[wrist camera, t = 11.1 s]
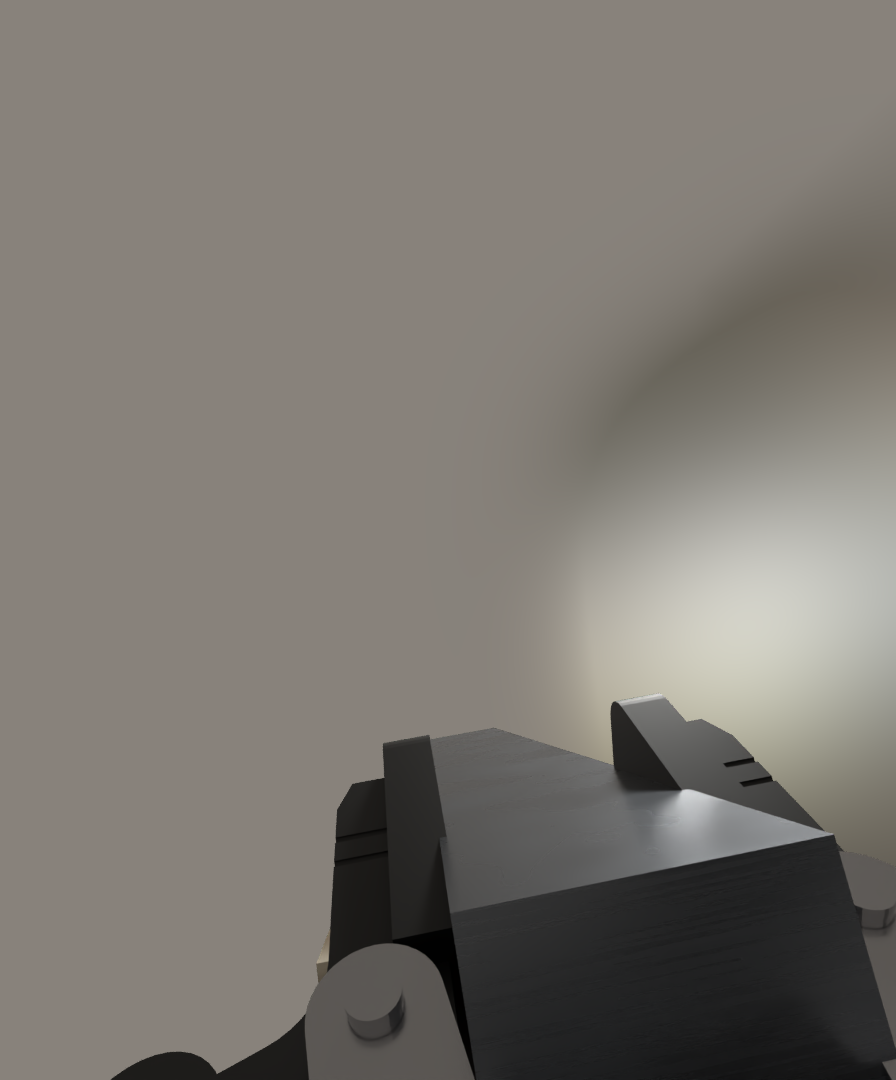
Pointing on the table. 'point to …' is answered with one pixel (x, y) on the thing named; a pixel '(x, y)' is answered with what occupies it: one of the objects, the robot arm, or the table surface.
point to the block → (645, 927)
